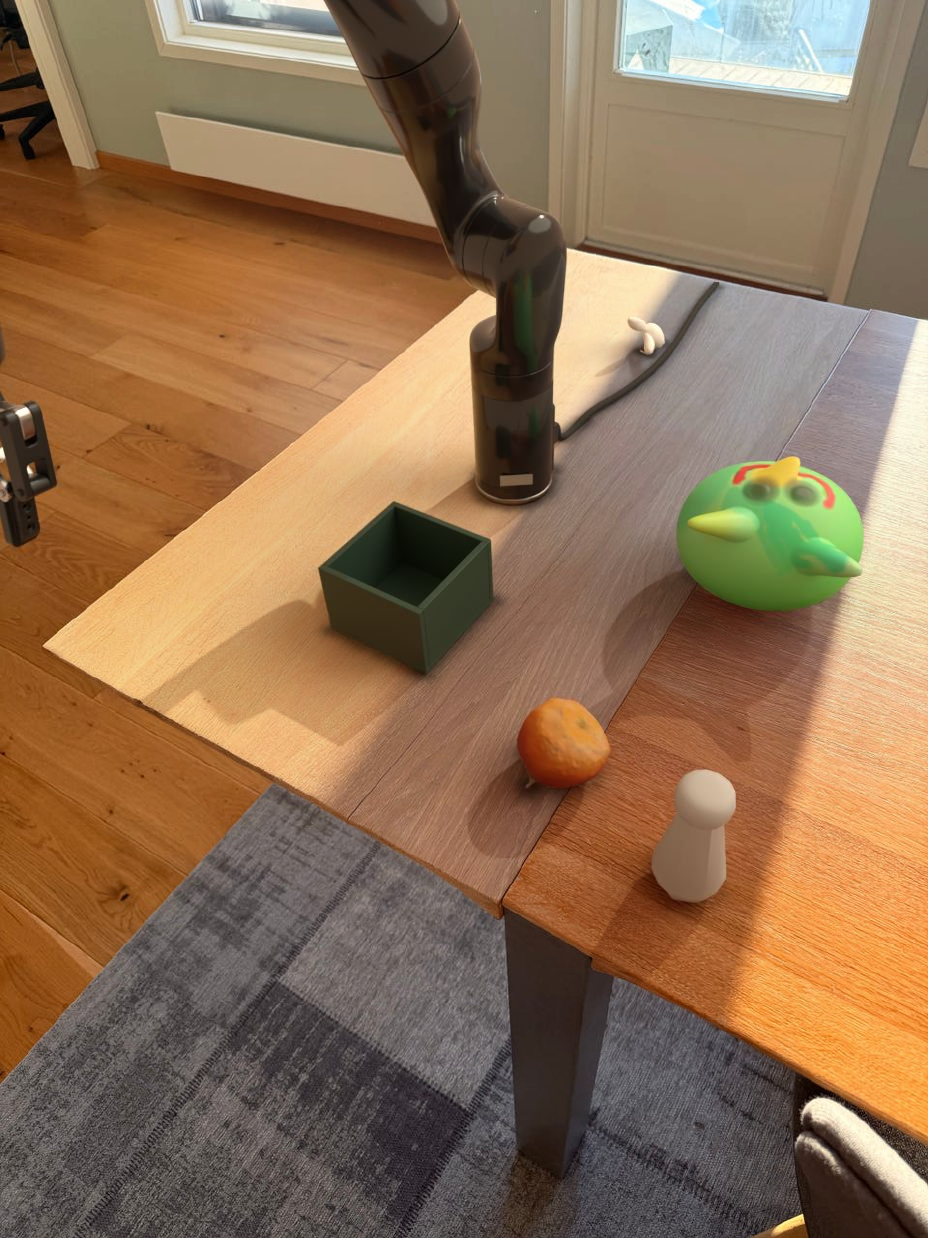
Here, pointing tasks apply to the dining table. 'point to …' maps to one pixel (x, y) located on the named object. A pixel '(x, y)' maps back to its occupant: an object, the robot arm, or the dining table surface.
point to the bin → (408, 585)
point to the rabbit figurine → (648, 334)
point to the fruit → (562, 744)
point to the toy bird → (770, 535)
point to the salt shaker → (695, 838)
